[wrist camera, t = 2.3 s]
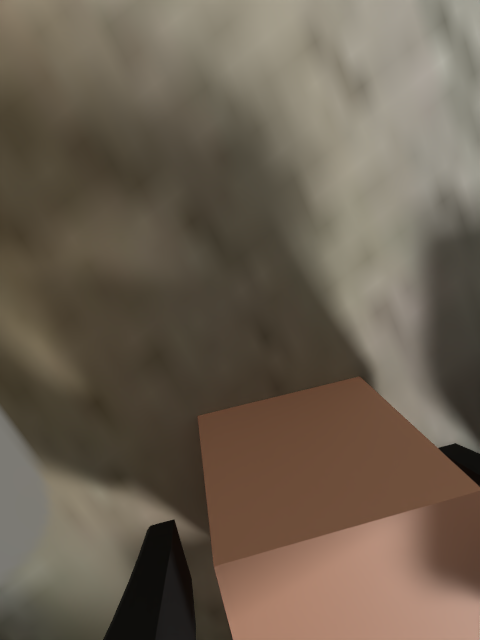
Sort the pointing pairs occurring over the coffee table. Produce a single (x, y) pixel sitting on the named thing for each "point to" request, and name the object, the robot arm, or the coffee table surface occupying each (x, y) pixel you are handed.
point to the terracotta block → (338, 521)
